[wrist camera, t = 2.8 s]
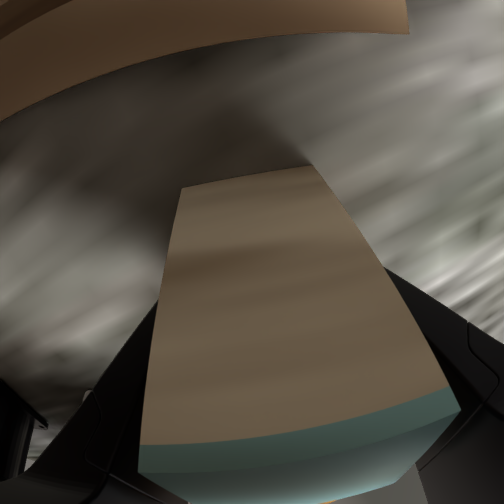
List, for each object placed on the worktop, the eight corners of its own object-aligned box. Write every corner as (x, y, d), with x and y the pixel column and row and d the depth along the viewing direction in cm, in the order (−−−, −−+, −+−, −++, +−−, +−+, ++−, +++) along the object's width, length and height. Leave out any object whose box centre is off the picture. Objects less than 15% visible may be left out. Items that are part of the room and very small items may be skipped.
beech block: (318, 267, 12) (394, 483, 5) (210, 287, 12) (217, 516, 5) (312, 164, 10) (460, 410, 3) (181, 188, 10) (137, 472, 3)
